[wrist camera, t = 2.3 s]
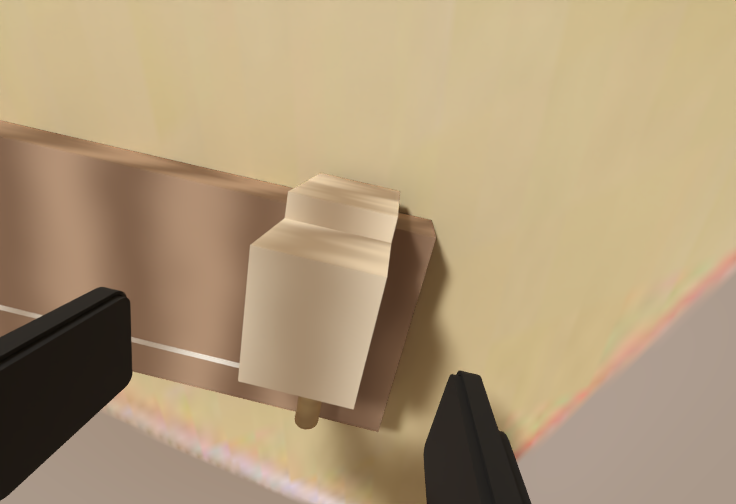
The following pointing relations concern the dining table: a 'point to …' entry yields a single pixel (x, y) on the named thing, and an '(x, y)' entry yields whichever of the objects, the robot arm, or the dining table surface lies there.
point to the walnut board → (170, 259)
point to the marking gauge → (318, 292)
